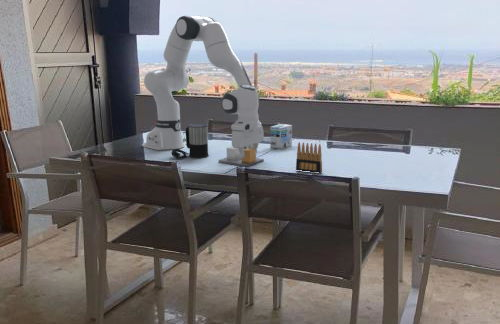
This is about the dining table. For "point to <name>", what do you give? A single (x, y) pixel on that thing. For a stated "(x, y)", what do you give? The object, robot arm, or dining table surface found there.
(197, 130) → the milk frother
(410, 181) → the dining table surface
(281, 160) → the dining table surface
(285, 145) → the light bulb box
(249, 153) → the orange wooden block
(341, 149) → the dining table surface
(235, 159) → the junction plate
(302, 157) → the ammunition clip
